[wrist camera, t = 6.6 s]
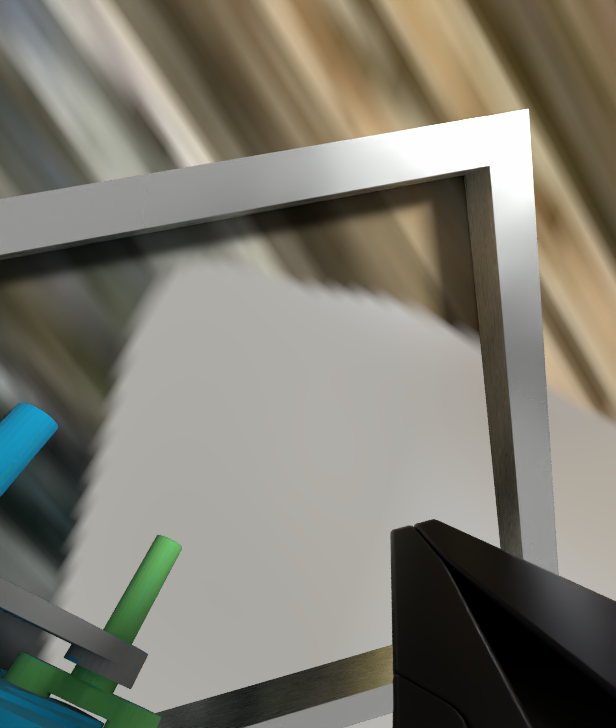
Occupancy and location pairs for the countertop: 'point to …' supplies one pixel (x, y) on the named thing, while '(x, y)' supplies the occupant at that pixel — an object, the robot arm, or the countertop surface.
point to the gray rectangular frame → (495, 317)
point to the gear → (74, 623)
